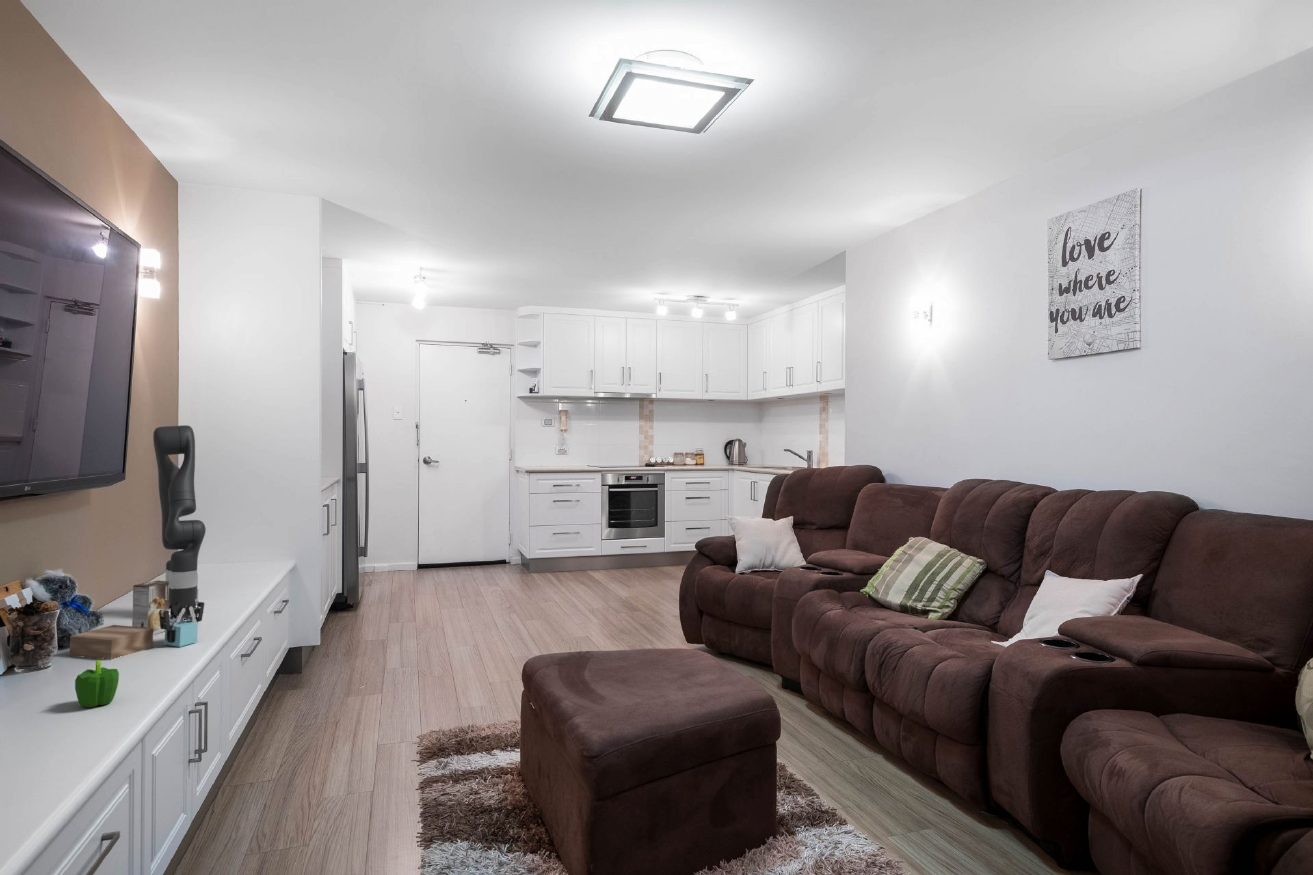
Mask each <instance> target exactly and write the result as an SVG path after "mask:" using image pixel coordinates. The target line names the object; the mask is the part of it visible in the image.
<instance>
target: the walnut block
mask: <svg viewBox="0 0 1313 875" xmlns="http://www.w3.org/2000/svg"><path fill="white" fill-rule="evenodd" d="M153 643H154V635H153V628H144V627H133V626H132V625H121V624H120V625H119V624H112V625H108V626H103V627H100V628H98V629H93V630H92V629H91V630H89V631H85V632H82V633H78V634H74V635H73V634H72V635H70V636H69V657H75V656H84V657H83V658H86V657H91V658H90V659H96V658H104V659H103V660H106V659H110V660H109V661H112V660H111V659H113V660H115V659H114V658H116V659H118V657H119V658H121V657H120V656H122V657H125V655H126V656H128V654H129V655H131V654H136V653H139V652H141V651H144V650H147V649H151V648H153V647H154V644H153Z"/></svg>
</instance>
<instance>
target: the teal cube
mask: <svg viewBox="0 0 1313 875" xmlns="http://www.w3.org/2000/svg"><path fill="white" fill-rule="evenodd" d="M172 624H173V623H172ZM198 625H199V622H189V621H186V620H180V622H179V623H178V624H177V626H176V628H175V630H176V633H175V642H173V643H170V642H168V641H167V630H166V629H165V632H164V645H165V646H173V647H179V648H181V647H185V646H188V645H191V644H195V643H198V627H199V626H198ZM171 626H172V625H171Z"/></svg>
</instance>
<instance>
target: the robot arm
mask: <svg viewBox="0 0 1313 875" xmlns="http://www.w3.org/2000/svg"><path fill="white" fill-rule="evenodd" d="M152 436H153V437H152V438H153V442H152V443H153V447H154V448H153V449H154V454H155V459H156V465H157V472H158V474H157V476H158V477H157V478H158V495H159V501H160V508H161V509H160V510H161V540H162V541H161V543H162V546H163V548H165V549H166V550H171V551H173V550H175V551H174V552H172V554H171V556H170V560H168V561H167V562H165V580H164V581H169V591H168V601H169V602H170V605H169V607H168V609H165V610H160V611H159V618H160V628H161V629H166V630H167V641H168V642H170V643H173V642H175V633H176V630H175V628H176V626H177V624H178V623H179V622H180V621H189V622H197V623H199V622H202V621H203V617H204V616H203V614H204V609H205V602H204V601H199V588H198V580H199V576H198V561H199V560H198V558H199V553H200V550H201V546H202V543H203V541H204V538H205V536H206V528H207V527H206V526H205V524H204V522H203V521H202V520H199V519H190V520H186V519H185V520H179V518H182V517H186V516H189V515H192V514H194V513H195V512H196V511H197V503H196V494H195V493H196V492H195V470H196V469H195V468H196V438H195V432H194V429H193V427H192V426H190V425H187V424H186V425H171V426H170V425H169V426H168V425H165V426H164V425H163V426H159V427H156V428H154V431H153V434H152ZM172 455H183V461H182V464H181V466H180V467H178V466H177V465H176V464H175V463H174V462H173V461H172V459H171V458H170V456H172ZM177 550H178V551H177ZM184 619H185V620H184ZM172 623H173V624H172ZM171 625H172V626H171Z"/></svg>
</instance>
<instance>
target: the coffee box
mask: <svg viewBox="0 0 1313 875" xmlns="http://www.w3.org/2000/svg"><path fill="white" fill-rule="evenodd" d="M132 586H133V587H132V589H133V590H132V592H133V593H132V619H131V621H132V624H131V626H133V627H144V628H153V636H154V635H158V634H161V633H165V629H161V628H160V618H159V611H160V610H165V609H168V607H169V605H170V602H169V601H168V591H169V581H165V580H153V581H147V582H142V583H138V584H133V585H132Z"/></svg>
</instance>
